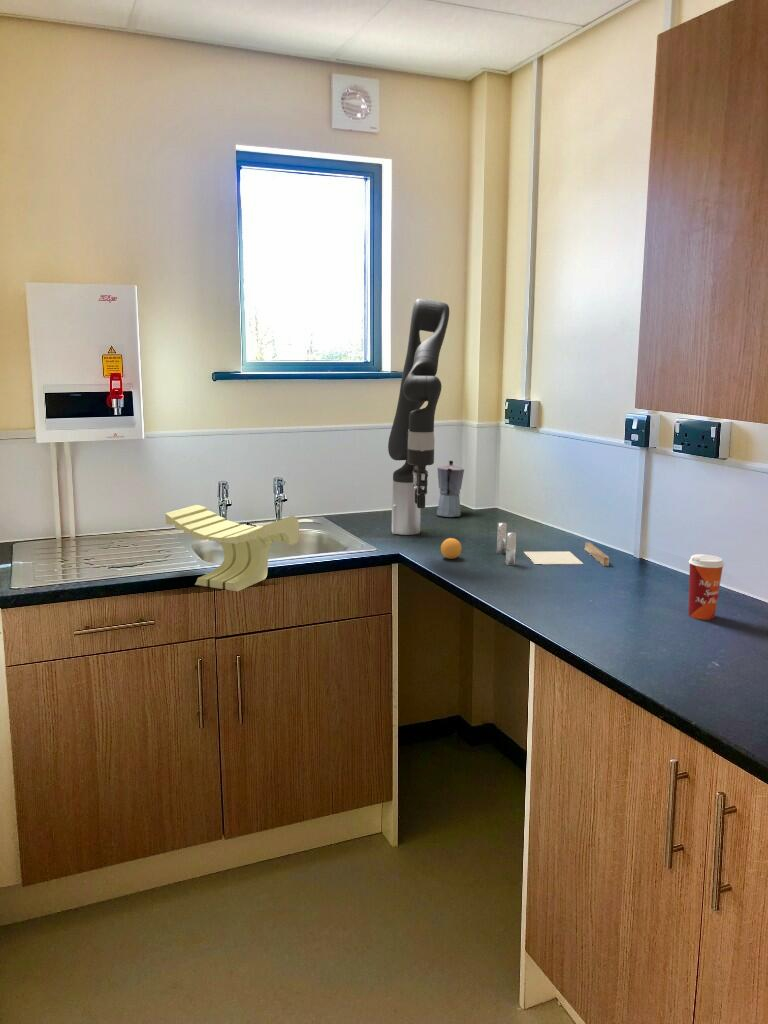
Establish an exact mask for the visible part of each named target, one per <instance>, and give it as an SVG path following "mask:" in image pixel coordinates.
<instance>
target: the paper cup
mask: <svg viewBox="0 0 768 1024" xmlns="http://www.w3.org/2000/svg"><path fill="white" fill-rule="evenodd" d="M688 563H689V582H688V583H689V586H688V616H689V617H690V616H691V618H692V617H693V619H695V618H696V619H695V620H700V619H701V620H702V621H711V620H710V619H712V620H714V619H715V615H716V610H717V605H718V599H719V594H720V593H719V592H720V588H721V587H720V585H721V579H722V574H723V567H725V563H724V560H723V558H721V557H720V556H717V555H714V554H713V555H712V554H705V553H704V554H703V553H701V554H700V553H696V554H692V555H691V556H690V559H689V560H688ZM713 618H714V619H713Z"/></svg>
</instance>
